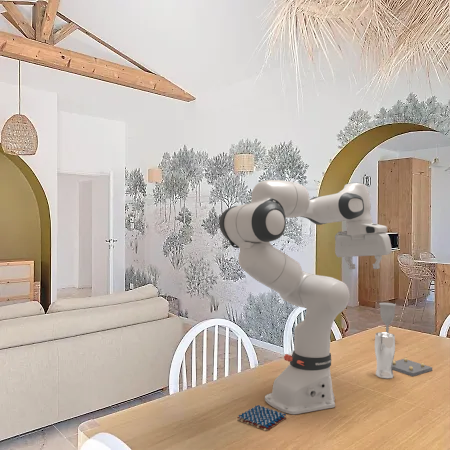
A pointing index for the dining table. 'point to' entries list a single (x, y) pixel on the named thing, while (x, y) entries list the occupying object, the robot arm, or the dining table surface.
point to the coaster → (410, 367)
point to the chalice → (387, 313)
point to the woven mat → (261, 417)
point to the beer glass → (384, 354)
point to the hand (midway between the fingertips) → (364, 269)
